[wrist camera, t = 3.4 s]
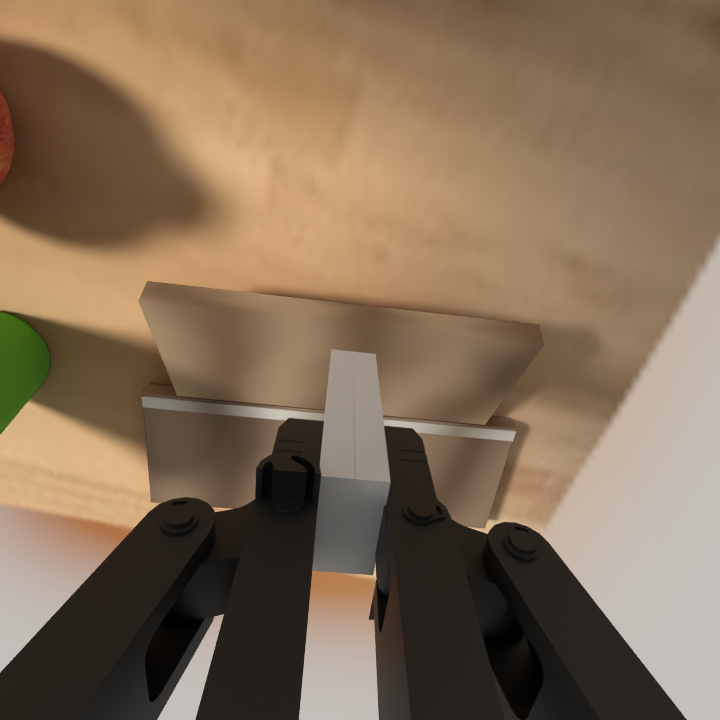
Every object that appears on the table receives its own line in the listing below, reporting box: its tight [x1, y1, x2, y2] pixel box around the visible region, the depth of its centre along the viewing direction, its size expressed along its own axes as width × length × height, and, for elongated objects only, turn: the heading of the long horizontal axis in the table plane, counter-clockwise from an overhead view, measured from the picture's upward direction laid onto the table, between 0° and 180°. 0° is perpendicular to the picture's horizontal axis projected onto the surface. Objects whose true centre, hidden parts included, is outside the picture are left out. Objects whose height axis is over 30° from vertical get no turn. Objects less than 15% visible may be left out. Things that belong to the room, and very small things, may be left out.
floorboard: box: [141, 384, 516, 528], centre depth 29 cm, size 22×8×1 cm, turn 83°
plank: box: [139, 281, 544, 425], centre depth 24 cm, size 18×8×1 cm, turn 83°
